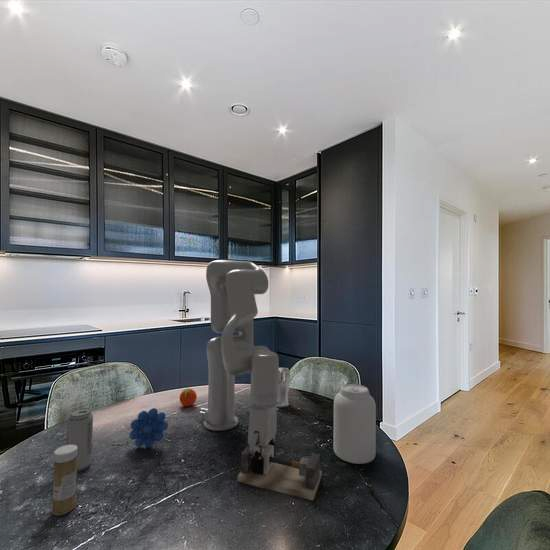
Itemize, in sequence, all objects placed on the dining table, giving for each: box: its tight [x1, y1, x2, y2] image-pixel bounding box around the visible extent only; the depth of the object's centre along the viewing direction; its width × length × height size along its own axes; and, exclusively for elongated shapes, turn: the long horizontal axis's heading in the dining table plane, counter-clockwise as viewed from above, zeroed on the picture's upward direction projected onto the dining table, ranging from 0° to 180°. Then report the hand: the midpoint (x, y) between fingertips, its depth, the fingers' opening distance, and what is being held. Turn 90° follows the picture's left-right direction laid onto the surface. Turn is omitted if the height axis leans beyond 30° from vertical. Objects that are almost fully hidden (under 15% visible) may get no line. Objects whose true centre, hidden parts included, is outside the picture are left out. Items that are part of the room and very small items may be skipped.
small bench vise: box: [237, 442, 323, 501], centre depth 82 cm, size 20×10×6 cm, turn 70°
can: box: [332, 383, 377, 465], centre depth 95 cm, size 12×12×20 cm
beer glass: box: [276, 366, 291, 408], centre depth 133 cm, size 7×7×15 cm
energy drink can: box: [66, 408, 94, 473], centre depth 87 cm, size 6×6×15 cm
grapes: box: [129, 407, 169, 448], centre depth 98 cm, size 12×7×12 cm, turn 93°
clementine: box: [179, 388, 197, 407], centre depth 130 cm, size 8×7×7 cm
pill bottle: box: [51, 444, 78, 517], centre depth 71 cm, size 5×5×14 cm
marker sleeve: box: [256, 442, 275, 474], centre depth 84 cm, size 4×5×5 cm
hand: (263, 463), depth 84 cm, fingers open, 7 cm apart
